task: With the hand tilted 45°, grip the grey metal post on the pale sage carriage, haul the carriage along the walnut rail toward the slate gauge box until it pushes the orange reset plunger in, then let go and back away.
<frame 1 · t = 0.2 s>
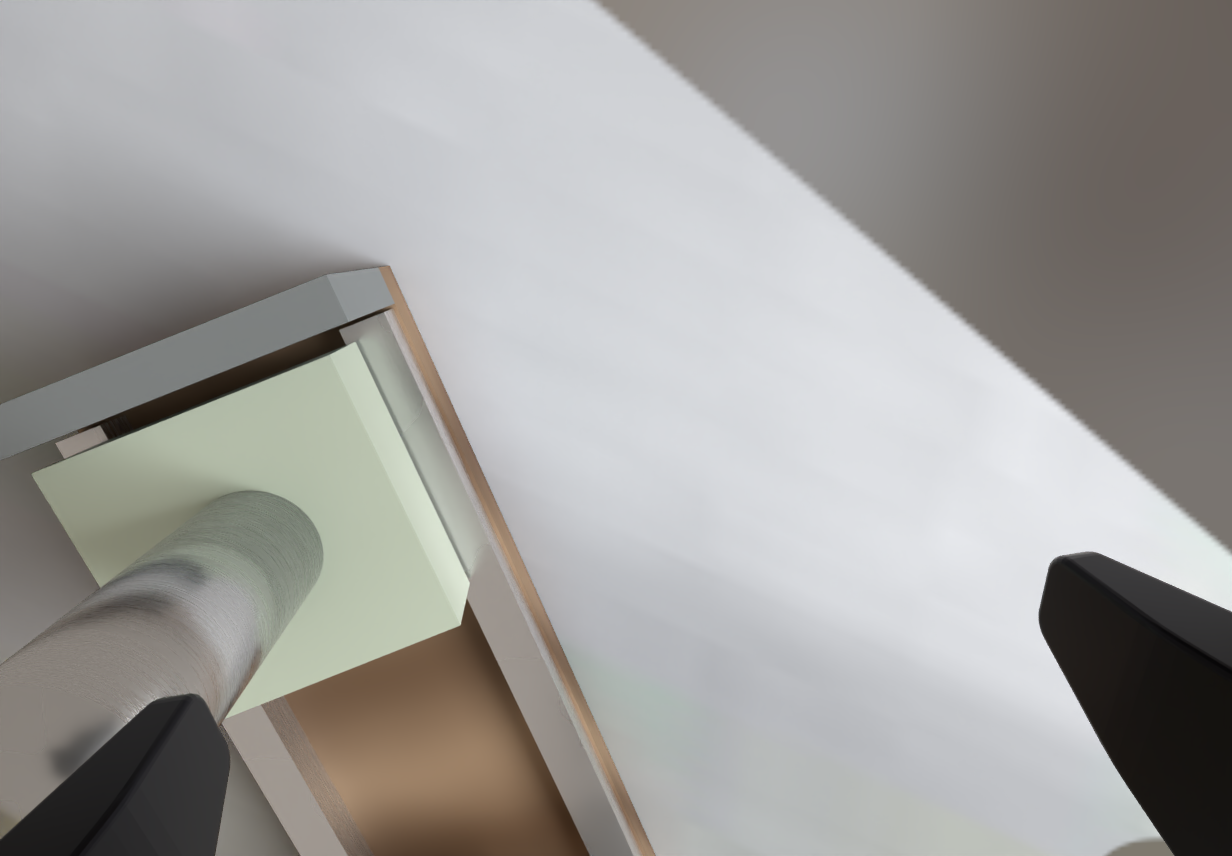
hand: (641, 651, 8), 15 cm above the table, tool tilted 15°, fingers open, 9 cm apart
rail: (413, 667, 25), on the table
carriage: (203, 608, 15), point 8 cm above the table, slide at 0.0 cm
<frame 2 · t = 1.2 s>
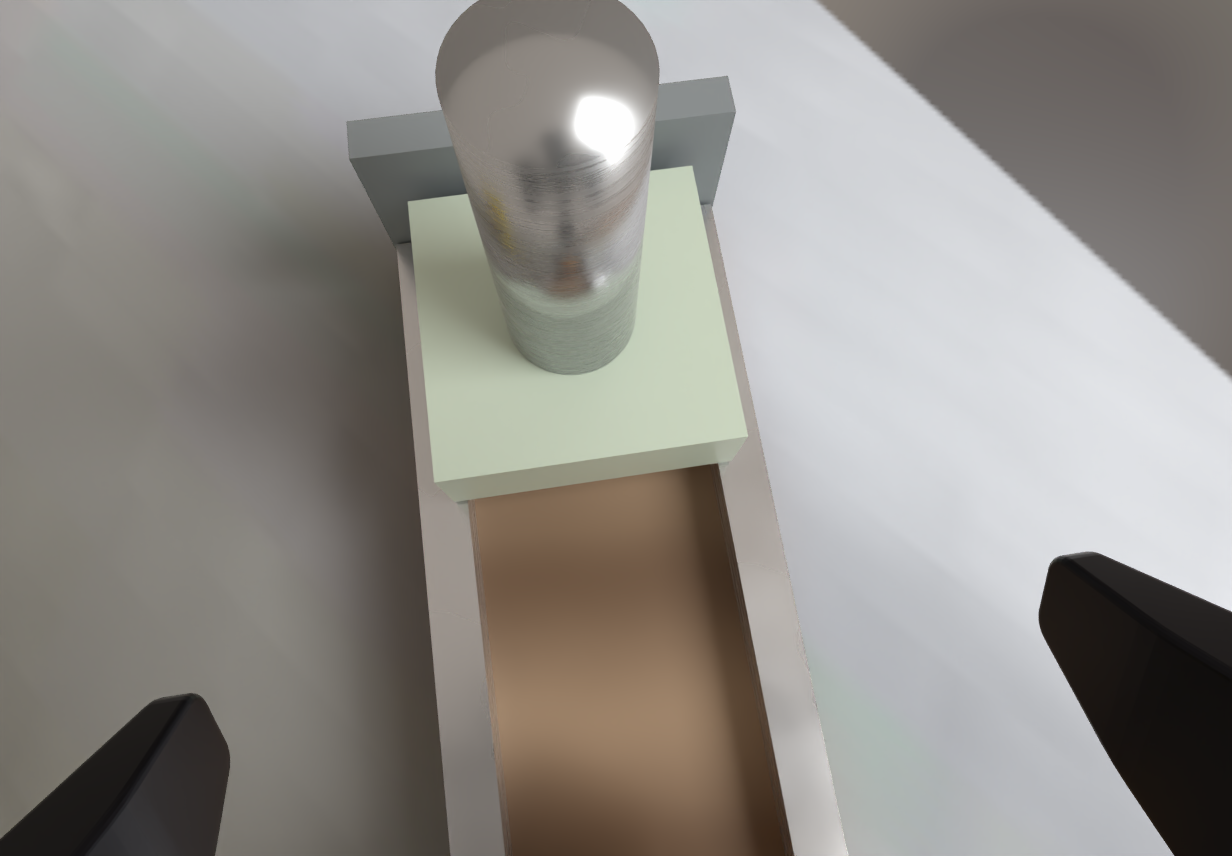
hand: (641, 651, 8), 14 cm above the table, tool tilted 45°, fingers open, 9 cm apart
rail: (611, 608, 22), on the table
carriage: (565, 256, 16), point 8 cm above the table, slide at 0.0 cm
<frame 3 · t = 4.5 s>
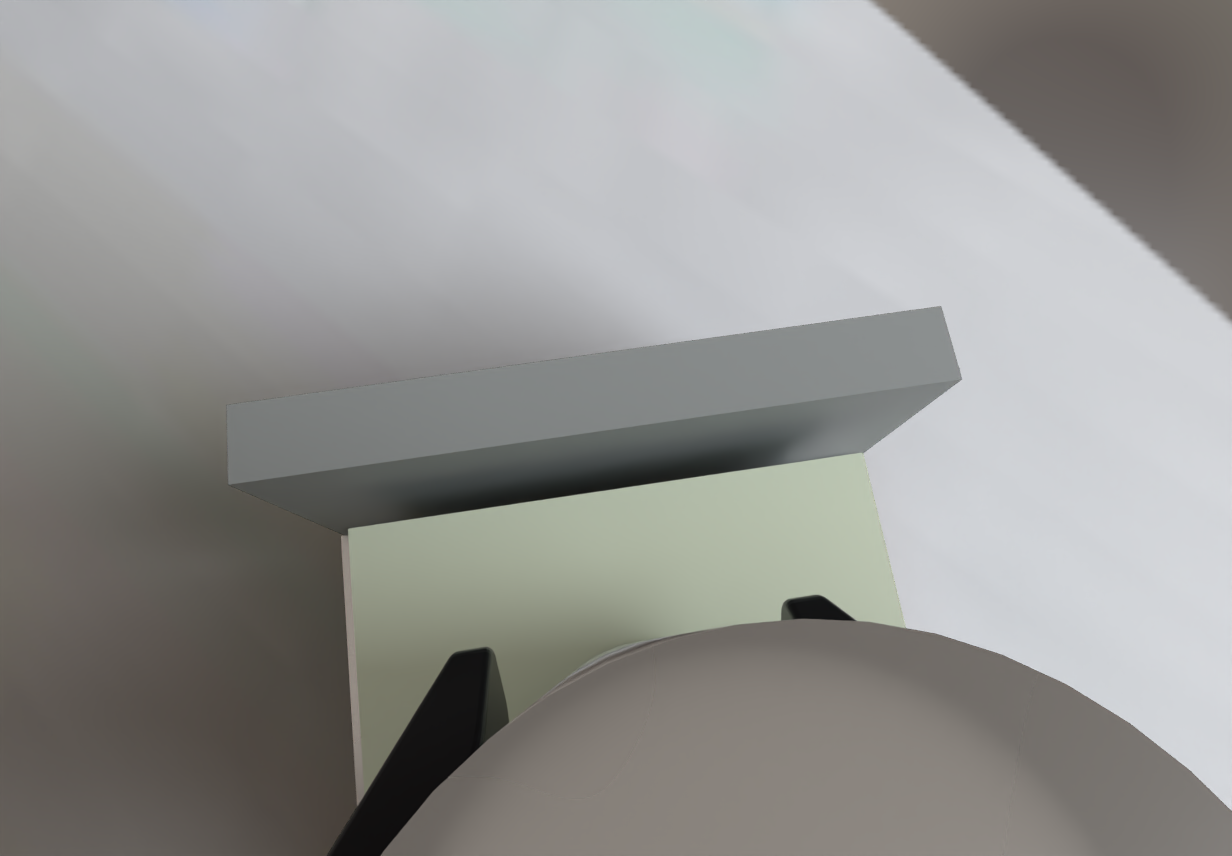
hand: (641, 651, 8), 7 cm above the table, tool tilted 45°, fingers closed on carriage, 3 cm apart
carriage: (672, 814, 7), point 8 cm above the table, slide at 0.0 cm, touching gripper
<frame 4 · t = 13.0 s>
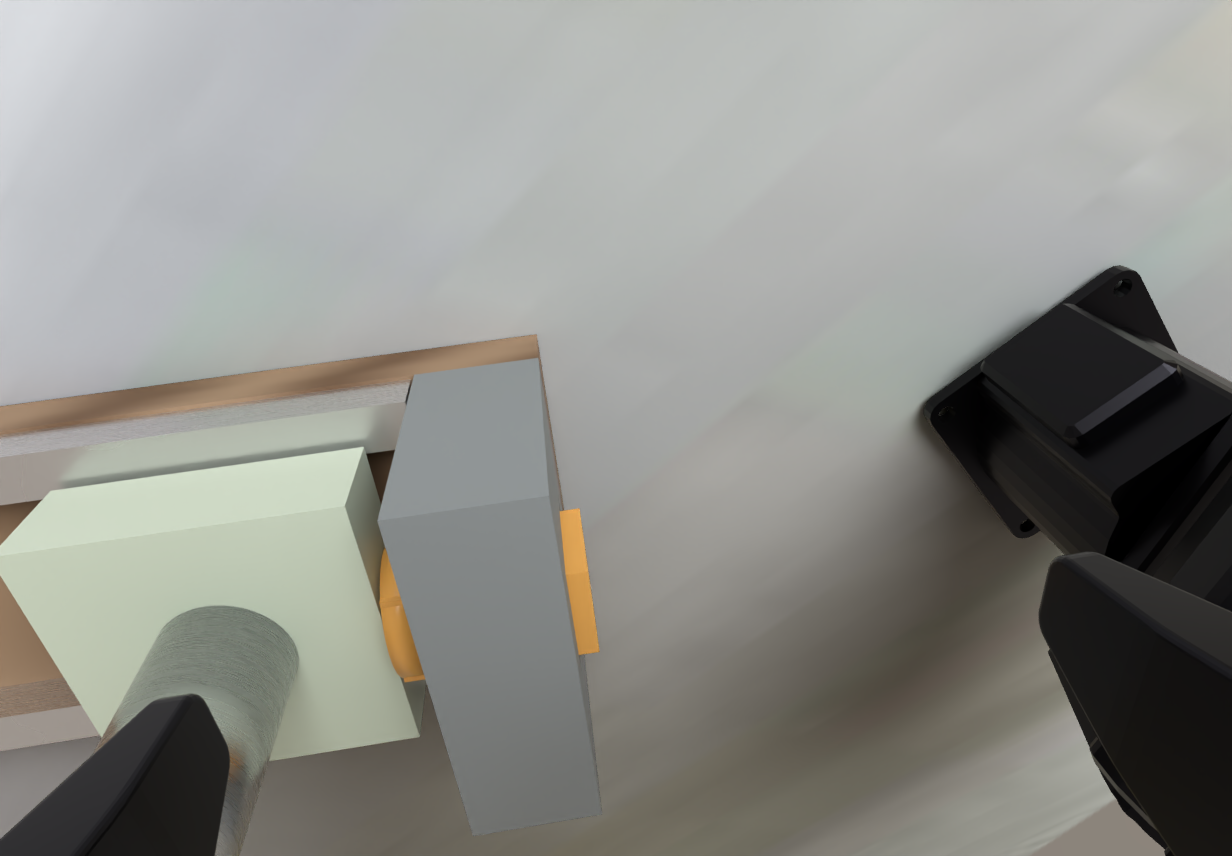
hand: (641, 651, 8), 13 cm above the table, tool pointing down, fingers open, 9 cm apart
rail: (150, 538, 22), on the table
carriage: (182, 764, 15), point 8 cm above the table, slide at 10.3 cm
gauge plunger: (494, 592, 18), point 5 cm above the table, slide at 1.5 cm
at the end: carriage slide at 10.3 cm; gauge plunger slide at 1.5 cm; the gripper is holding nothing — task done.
